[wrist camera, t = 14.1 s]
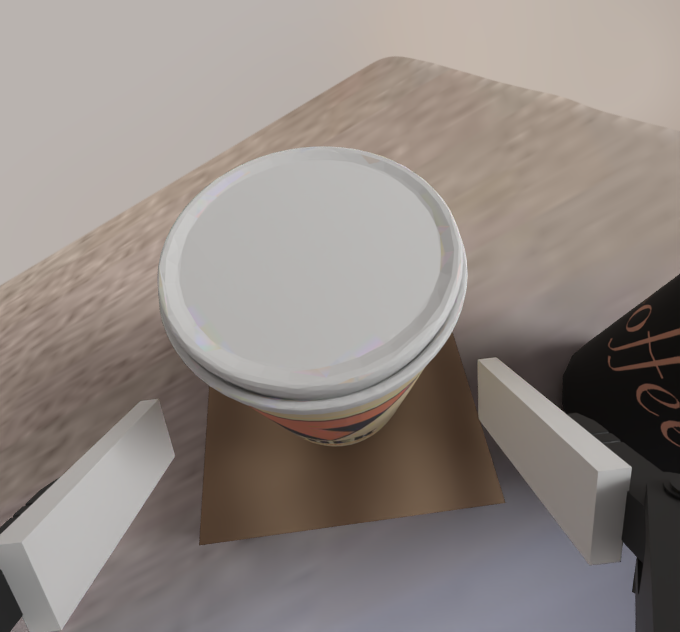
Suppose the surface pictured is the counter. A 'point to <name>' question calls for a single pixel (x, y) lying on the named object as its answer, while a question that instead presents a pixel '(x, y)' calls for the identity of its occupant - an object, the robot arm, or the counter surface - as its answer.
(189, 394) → the counter surface
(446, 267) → the coffee cup
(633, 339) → the coffee jar
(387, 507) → the walnut riser
